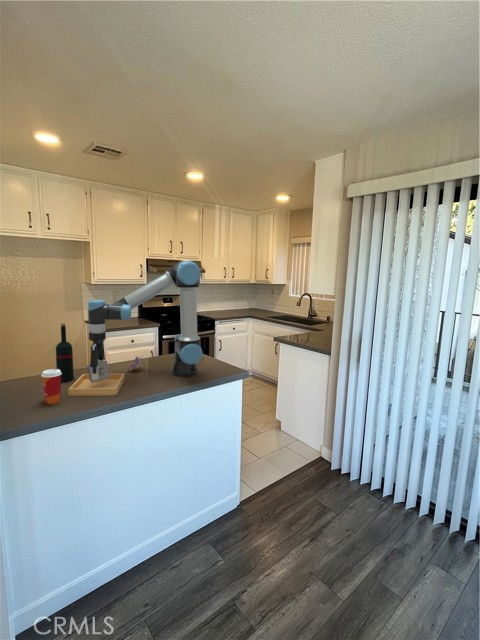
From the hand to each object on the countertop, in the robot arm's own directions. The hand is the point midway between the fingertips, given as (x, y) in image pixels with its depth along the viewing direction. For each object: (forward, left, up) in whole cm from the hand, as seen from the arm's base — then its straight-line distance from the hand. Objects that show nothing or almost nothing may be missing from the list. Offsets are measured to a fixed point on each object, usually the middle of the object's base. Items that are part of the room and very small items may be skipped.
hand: (98, 375), depth 159 cm
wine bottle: (+20, -12, -6) cm, 24 cm away
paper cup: (+15, +16, -6) cm, 23 cm away
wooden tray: (0, 0, -6) cm, 6 cm away
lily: (-14, -26, -6) cm, 30 cm away
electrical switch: (0, 0, -2) cm, 2 cm away
